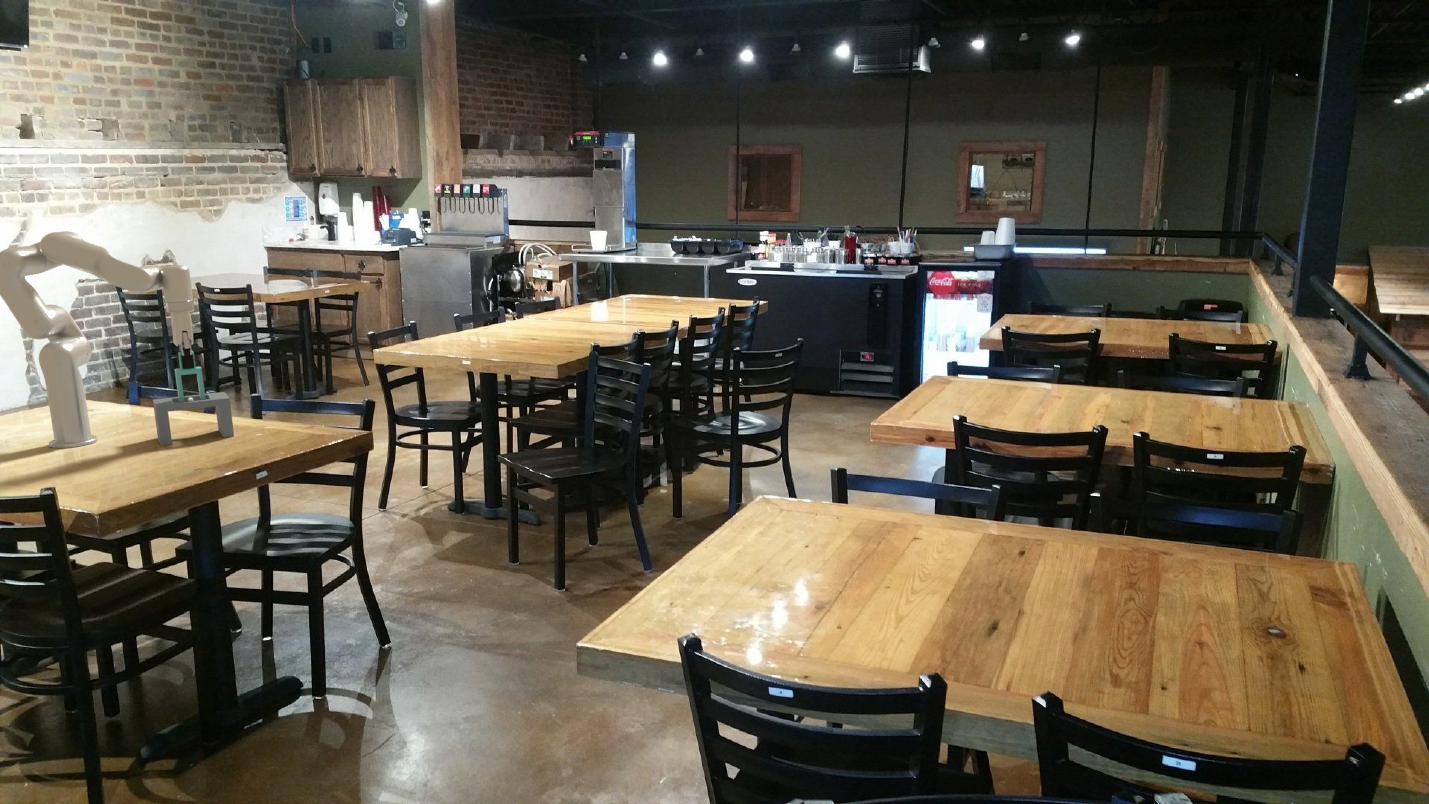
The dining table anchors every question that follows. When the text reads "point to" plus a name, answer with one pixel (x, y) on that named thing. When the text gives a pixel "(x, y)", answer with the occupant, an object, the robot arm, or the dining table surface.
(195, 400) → the grey table arch
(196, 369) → the teal arch frame
